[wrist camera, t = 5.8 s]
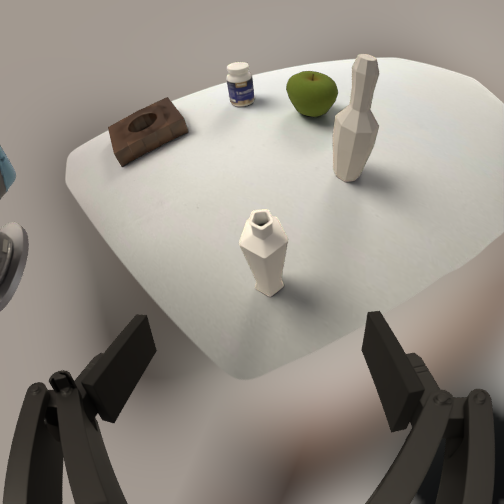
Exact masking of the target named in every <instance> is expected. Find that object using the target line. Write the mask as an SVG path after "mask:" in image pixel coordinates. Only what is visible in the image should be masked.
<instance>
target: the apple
mask: <svg viewBox="0 0 504 504" xmlns="http://www.w3.org/2000/svg"><path fill="white" fill-rule="evenodd" d="M286 90H287V93H288V96H289V99H290V100H291V102H292V104H293V105H294V107H295V109H296V110H297V111H298V112H299V113H301V114H303V115H306V116H311V117H317V116H321V115H323V114H326V113H327V111H328V110H329V109H330V108H331V106H332V105H333V104H334V102H335V101H336V98H337V95H338V89H337V86H336V83H335V82H334V81H333V80H332V79H331V78H330V77H328V76H327V75H325V74H322V73H319V72H313V71H303V72H300V73H298V74H295V75H293V76H292V77H291V78H290V79H289V80H288V83H287V86H286Z"/></svg>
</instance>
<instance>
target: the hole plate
mask: <svg viewBox="0 0 504 504" xmlns="http://www.w3.org/2000/svg"><path fill="white" fill-rule="evenodd" d="M147 127H148V128H147ZM145 128H146V129H145ZM108 129H109V134H110V138H111V143H112V147H113V151H114V155H115V156H116V158H117V160H118V161H119V163H120V165H121V166H124V165H126V164H128V163H129V162H131V161H133V160H135V159H136V158H138V157H140V156H142V155H144V154H146V153H147V152H150V151H152V150H154V149H156V148H158V147H160V146H161V145H163V144H165V143H167V142H169V141H171V140H173V139H175V138H177V137H179V136H181V135H184V134H186V133H188V129H187V126H186V123H185V120H184V118H183V116H182V115H181V114H180V113H179V111H178V110H177V109H176V107H175V106H174V105H173V103H172V102H171V101H170V100H169V98H168V97H167V98H164V99H162V100H160V101H158V102H156V103H154V104H152V105H150V106H148V107H146V108H143V109H141V110H139V111H137V112H135V113H133V114H131V115H130V116H128V117H126V118H124V119H122V120H120V121H119V122H117V123H115V124H113V125H111V126H110V127H108ZM143 129H144V130H143Z"/></svg>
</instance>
